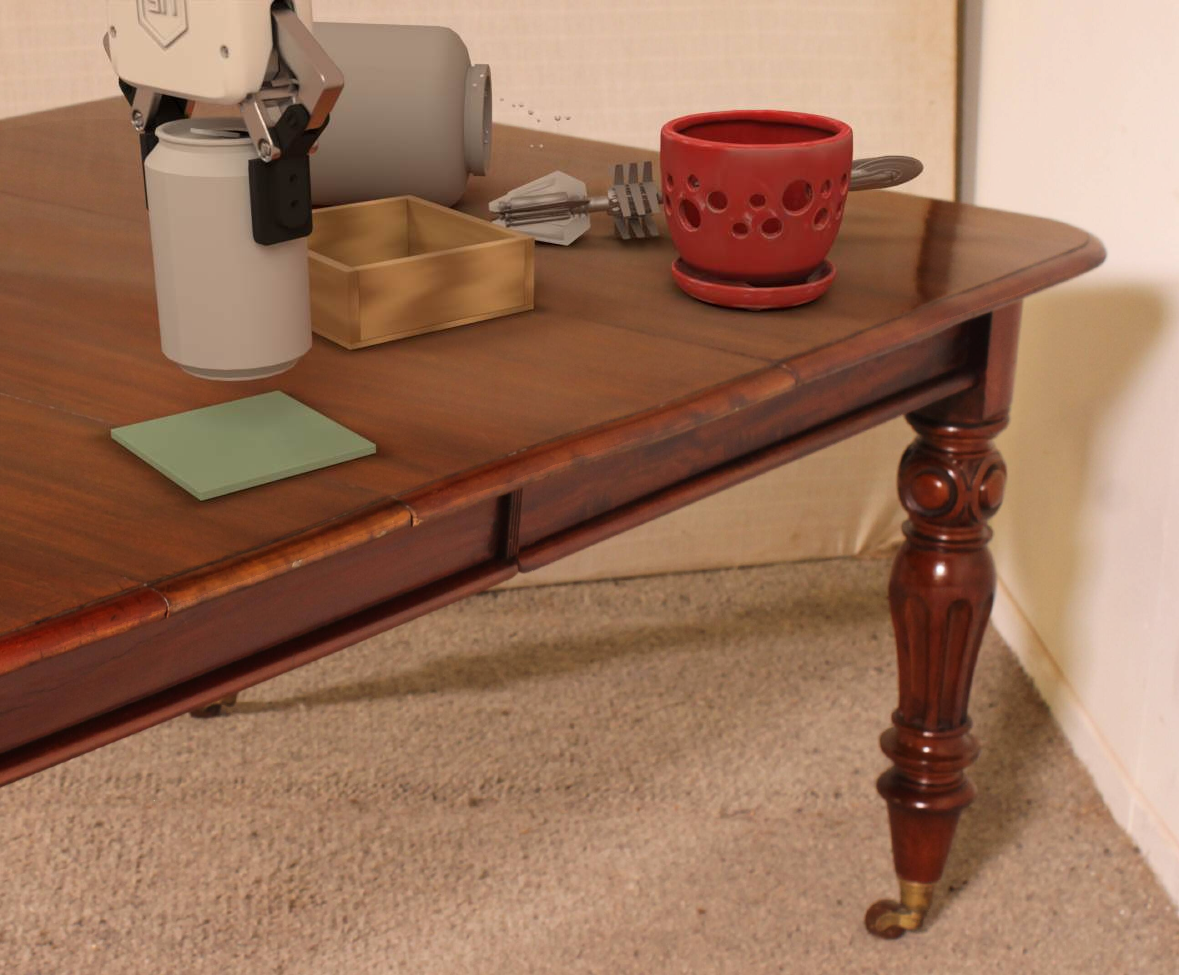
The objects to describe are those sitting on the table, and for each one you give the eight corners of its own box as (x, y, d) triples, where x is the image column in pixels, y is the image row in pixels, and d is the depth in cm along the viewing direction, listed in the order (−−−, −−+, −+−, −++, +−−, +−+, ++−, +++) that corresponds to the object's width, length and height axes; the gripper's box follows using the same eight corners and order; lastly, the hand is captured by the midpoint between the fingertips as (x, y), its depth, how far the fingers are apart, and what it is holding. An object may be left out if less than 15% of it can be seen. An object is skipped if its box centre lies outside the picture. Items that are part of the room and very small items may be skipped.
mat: (201, 501, 72) (200, 492, 71) (111, 438, 78) (110, 429, 78) (376, 453, 78) (376, 444, 77) (278, 398, 84) (278, 389, 84)
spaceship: (947, 153, 114) (914, 97, 119) (494, 204, 110) (480, 144, 115) (930, 236, 120) (899, 179, 125) (499, 288, 116) (486, 226, 121)
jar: (329, 114, 137) (594, 92, 132) (313, 259, 133) (587, 242, 128) (241, -12, 120) (542, -44, 115) (219, 150, 115) (532, 125, 110)
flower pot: (740, 258, 115) (752, 99, 110) (876, 299, 106) (895, 128, 101) (615, 286, 107) (621, 117, 102) (750, 333, 98) (764, 149, 93)
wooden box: (350, 350, 92) (347, 271, 90) (235, 293, 102) (230, 222, 100) (534, 309, 101) (535, 237, 99) (411, 261, 111) (410, 194, 109)
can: (344, 357, 77) (334, 122, 72) (238, 398, 71) (219, 146, 67) (240, 329, 81) (223, 104, 76) (131, 365, 75) (106, 124, 70)
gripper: (13, -175, 68) (59, 206, 76) (259, -163, 58) (285, 274, 66) (151, -173, 74) (182, 183, 81) (398, -161, 64) (408, 243, 71)
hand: (228, 222), depth 73 cm, fingers closed on can, 7 cm apart
